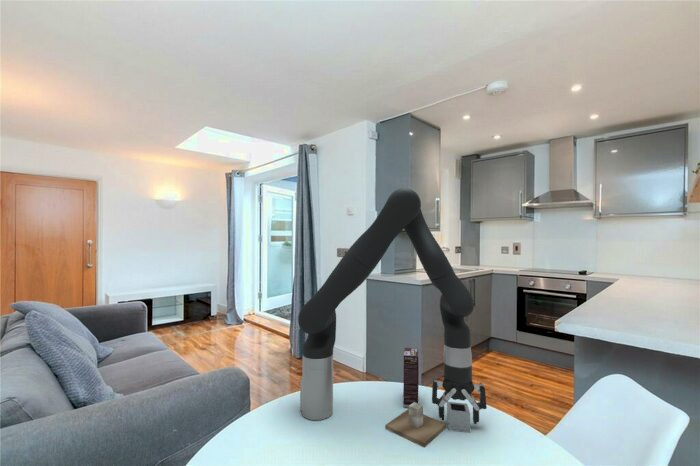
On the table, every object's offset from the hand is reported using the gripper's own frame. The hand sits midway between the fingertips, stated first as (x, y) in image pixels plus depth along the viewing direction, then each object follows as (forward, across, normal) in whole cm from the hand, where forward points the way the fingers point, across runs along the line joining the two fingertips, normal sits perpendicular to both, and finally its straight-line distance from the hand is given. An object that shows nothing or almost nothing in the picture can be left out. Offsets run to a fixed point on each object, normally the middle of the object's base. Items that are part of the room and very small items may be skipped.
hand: (458, 420), depth 88 cm
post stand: (+1, -12, -4) cm, 12 cm away
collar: (+1, 0, 0) cm, 1 cm away
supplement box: (+1, -13, +11) cm, 18 cm away
